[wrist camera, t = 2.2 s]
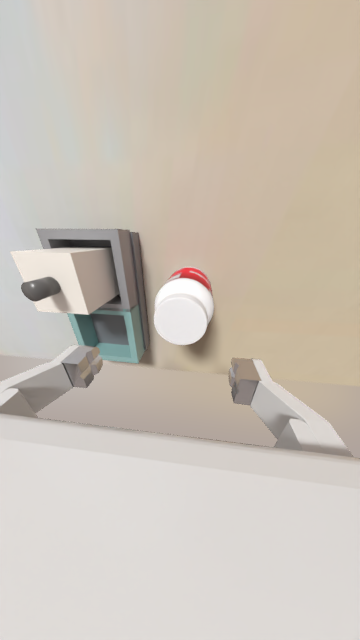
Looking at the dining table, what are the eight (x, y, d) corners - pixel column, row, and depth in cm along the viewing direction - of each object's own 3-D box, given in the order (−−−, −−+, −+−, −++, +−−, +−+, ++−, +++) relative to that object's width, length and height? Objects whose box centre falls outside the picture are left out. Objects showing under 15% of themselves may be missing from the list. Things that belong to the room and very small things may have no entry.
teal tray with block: (137, 231, 20) (68, 223, 10) (149, 344, 29) (119, 405, 18) (68, 230, 21) (-63, 223, 11) (99, 340, 30) (44, 395, 19)
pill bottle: (218, 294, 23) (229, 335, 13) (183, 313, 25) (171, 360, 15) (196, 256, 21) (191, 272, 11) (160, 280, 23) (130, 311, 13)
